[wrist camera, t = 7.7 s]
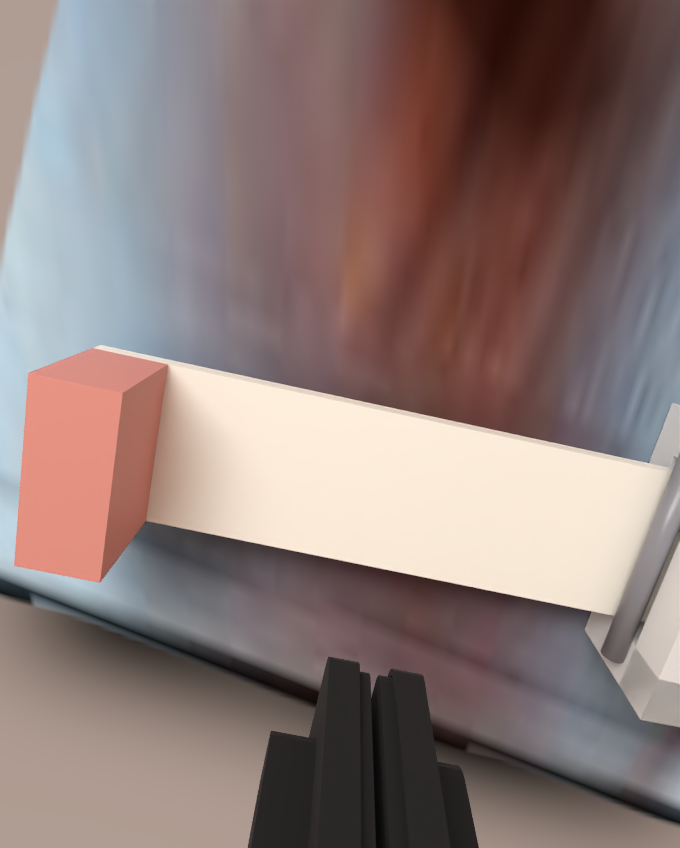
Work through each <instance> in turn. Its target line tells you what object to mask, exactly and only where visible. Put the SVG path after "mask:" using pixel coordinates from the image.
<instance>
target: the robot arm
mask: <svg viewBox="0 0 680 848" xmlns="http://www.w3.org/2000/svg"><path fill="white" fill-rule="evenodd" d="M248 848H479V847H478V843H477V837H476V832H475V827H474V823H473V818H472V814H471V808H470V803H469V798H468V794H467V789H466V784H465V779H464V776H463V772H462V770H461V768H460V767H459V766H457V765H451V764H446V763H441V762H437V757H436V751H435V744H434V738H433V731H432V725H431V719H430V713H429V706H428V700H427V694H426V688H425V681H424V677H423V675H422V674H417V673H412V672H406V671H401V670H396V669H391V670H390V672H389V674H388V677H386V676H380V675H379V676H378V677H377V679H376V683H375V687H374V690H373V694H372V698H371V683H370V674H369V673H365V672H360V664H359V662H354V661H349V660H344V659H338V658H333V657H328V660H327V663H326V667H325V671H324V675H323V680H322V684H321V688H320V693H319V697H318V701H317V705H316V710H315V714H314V718H313V722H312V727H311V731H310V735H309V738H307V737H302V736H297V735H291V734H286V733H281V732H275V731H271V733H270V738H269V742H268V747H267V751H266V756H265V761H264V766H263V770H262V775H261V780H260V785H259V790H258V795H257V801H256V806H255V811H254V817H253V822H252V828H251V833H250V839H249V844H248Z"/></svg>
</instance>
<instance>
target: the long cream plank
mask: <svg viewBox="0 0 680 848" xmlns="http://www.w3.org/2000/svg"><path fill="white" fill-rule="evenodd" d="M672 471H673V469H672V468H668V467H663V466H658V465H654V464H649V463H645V462H640V461H635V460H631V459H626V458H621V457H617V456H612V455H607V454H603V453H598V452H594V451H589V450H584V449H580V448H575V447H570V446H566V445H561V444H557V443H552V442H547V441H543V440H538V439H533V438H529V437H524V436H520V435H515V434H510V433H506V432H501V431H496V430H492V429H487V428H483V427H478V426H473V425H469V424H464V423H459V422H455V421H450V420H446V419H441V418H436V417H432V416H427V415H422V414H418V413H413V412H408V411H404V410H399V409H395V408H390V407H385V406H381V405H376V404H371V403H367V402H362V401H358V400H353V399H348V398H344V397H339V396H334V395H330V394H325V393H321V392H316V391H311V390H307V389H302V388H297V387H293V386H288V385H284V384H279V383H274V382H270V381H265V380H260V379H256V378H251V377H247V376H242V375H237V374H233V373H228V372H223V371H219V370H214V369H209V368H205V367H200V366H196V365H191V364H186V363H182V362H177V361H172V360H168V359H163V358H159V357H154V356H149V355H145V354H140V353H135V352H131V351H126V350H122V349H117V348H112V347H108V346H103V345H100V346H97V347H95V348H92V349H89V350H87V351H84V352H82V353H79V354H76V355H74V356H71V357H69V358H66V359H63V360H61V361H58V362H56V363H53V364H51V365H48V366H45V367H43V368H40V369H38V370H35V371H32V372H30V373H28V387H27V400H26V414H25V427H24V441H23V454H22V468H21V481H20V495H19V508H18V522H17V536H16V549H15V563H14V566H18V567H23V568H28V569H33V570H38V571H43V572H48V573H53V574H58V575H63V576H68V577H74V578H79V579H84V580H89V581H94V582H99V583H100V582H101V581H102V579H103V578H104V577H105V575H106V574H107V573H108V571H109V570H110V568H111V567H112V566H113V564H114V563H115V562H116V560H117V559H118V558H119V556H120V555H121V554H122V552H123V551H124V550H125V548H126V547H127V546H128V544H129V543H130V542H131V540H132V539H133V538H134V536H135V535H136V534H137V532H138V531H139V530H140V528H141V527H142V526H143V524H144V523H145V522H146V521H149V522H154V523H159V524H164V525H169V526H173V527H178V528H183V529H188V530H193V531H198V532H203V533H208V534H213V535H218V536H223V537H228V538H233V539H238V540H243V541H247V542H252V543H257V544H262V545H267V546H272V547H277V548H282V549H287V550H292V551H297V552H302V553H307V554H312V555H316V556H321V557H326V558H331V559H336V560H341V561H346V562H351V563H356V564H361V565H366V566H371V567H376V568H381V569H386V570H390V571H395V572H400V573H405V574H410V575H415V576H420V577H425V578H430V579H435V580H440V581H445V582H450V583H455V584H459V585H464V586H469V587H474V588H479V589H484V590H489V591H494V592H499V593H504V594H509V595H514V596H519V597H524V598H528V599H533V600H538V601H543V602H548V603H553V604H558V605H563V606H568V607H573V608H578V609H583V610H588V611H593V612H598V613H602V614H607V615H612V616H615V613H616V611H617V608H618V606H619V603H620V601H621V598H622V596H623V593H624V591H625V588H626V586H627V583H628V581H629V578H630V576H631V573H632V571H633V568H634V566H635V563H636V561H637V558H638V556H639V553H640V551H641V548H642V546H643V543H644V541H645V538H646V536H647V533H648V531H649V528H650V526H651V523H652V521H653V518H654V516H655V513H656V511H657V508H658V506H659V503H660V501H661V498H662V496H663V493H664V491H665V488H666V486H667V483H668V481H669V478H670V476H671V473H672ZM679 541H680V528H679V531H678V533H677V535H676V538H675V540H674V543H673V545H672V547H671V550H670V552H669V555H668V557H667V559H666V562H665V564H664V567H663V569H662V572H661V574H660V576H659V579H658V581H657V584H656V586H655V588H654V591H653V593H652V596H651V598H650V600H649V603H648V605H647V608H646V610H645V612H644V615H643V617H642V620H641V621H642V622H646V620H647V617H648V615H649V613H650V610H651V608H652V606H653V603H654V601H655V598H656V596H657V594H658V591H659V589H660V586H661V584H662V582H663V579H664V577H665V574H666V572H667V570H668V567H669V565H670V562H671V560H672V558H673V555H674V553H675V551H676V548H677V546H678V543H679Z"/></svg>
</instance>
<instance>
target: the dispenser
mask: <svg viewBox="0 0 680 848" xmlns="http://www.w3.org/2000/svg"><path fill="white" fill-rule="evenodd" d="M649 464H654V465H658V466H663V467H668V468H672V469H673V471H672V473H671V476H670V478H669V481H668V483H667V486H666V488H665V491H664V493H663V496H662V498H661V501H660V503H659V506H658V508H657V511H656V513H655V516H654V518H653V521H652V523H651V526H650V528H649V531H648V533H647V536H646V538H645V541H644V543H643V546H642V548H641V551H640V553H639V556H638V558H637V561H636V563H635V566H634V568H633V571H632V573H631V576H630V578H629V581H628V583H627V586H626V588H625V591H624V593H623V596H622V598H621V601H620V603H619V606H618V608H617V611H616V613H615V616H612V615H607V614H602V613H598V612H593V611H592V612H591V614H590V617H589V620H588V622H587V625H586V627H585V631H586V633H587V635H588V636H589V638H590V639H591V641H592V643H593V644H594V646H595V647H596V649H597V651H598V652H599V654H600V655H601V657H602V659H603V660H604V662H605V663H606V665H607V667H608V668H609V670H610V671H611V673H612V675H613V676H614V678H615V680H616V681H617V683H618V684H619V686H620V688H621V689H622V691H623V692H624V694H625V696H626V697H627V699H628V700H629V702H630V704H631V705H632V707H633V708H634V710H635V712H636V713H637V715H638V717H639V718H640V720H644V721H649V722H655V723H660V724H665V725H670V726H675V727H680V541H679V543H678V546H677V548H676V551H675V553H674V555H673V558H672V560H671V562H670V565H669V567H668V570H667V572H666V574H665V577H664V579H663V582H662V584H661V586H660V589H659V591H658V594H657V596H656V598H655V601H654V603H653V606H652V608H651V610H650V613H649V615H648V617H647V620H646V622H642V621H641V620H642V617H643V615H644V612H645V610H646V608H647V605H648V603H649V600H650V598H651V596H652V593H653V591H654V588H655V586H656V584H657V581H658V579H659V576H660V574H661V572H662V569H663V567H664V564H665V562H666V559H667V557H668V555H669V552H670V550H671V547H672V545H673V543H674V540H675V538H676V535H677V533H678V531H679V528H680V405H679V404H674V403H672V405H671V407H670V410H669V413H668V415H667V418H666V420H665V423H664V425H663V428H662V431H661V433H660V436H659V438H658V441H657V444H656V446H655V449H654V451H653V454H652V457H651V459H650V462H649Z"/></svg>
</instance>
